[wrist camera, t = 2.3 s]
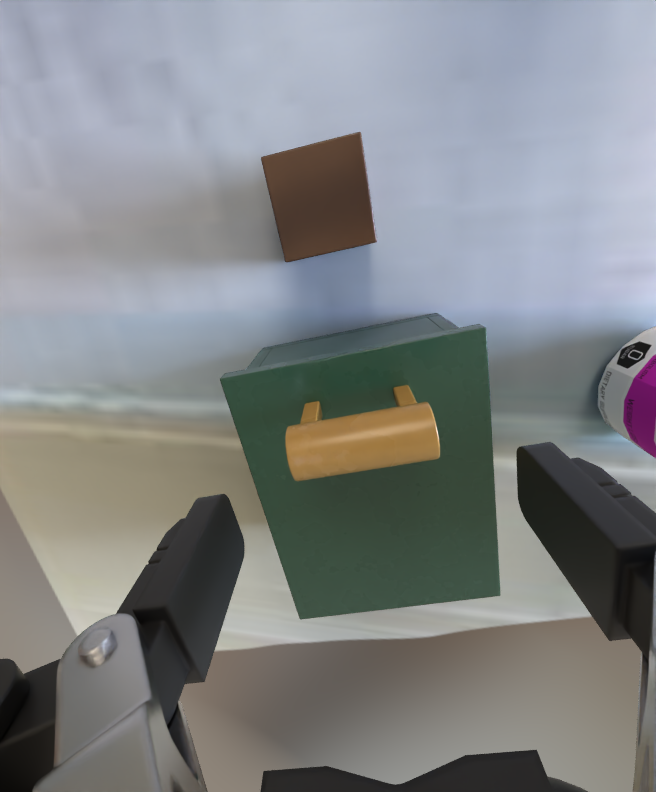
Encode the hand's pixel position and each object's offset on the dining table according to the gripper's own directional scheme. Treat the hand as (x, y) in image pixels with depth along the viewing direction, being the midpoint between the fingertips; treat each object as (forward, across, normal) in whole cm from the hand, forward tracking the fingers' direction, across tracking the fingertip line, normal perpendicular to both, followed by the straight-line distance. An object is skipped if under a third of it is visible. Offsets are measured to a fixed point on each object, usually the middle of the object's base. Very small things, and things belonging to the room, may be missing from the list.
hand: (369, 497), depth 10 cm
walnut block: (+15, 0, -9) cm, 18 cm away
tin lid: (+8, 0, +5) cm, 9 cm away
